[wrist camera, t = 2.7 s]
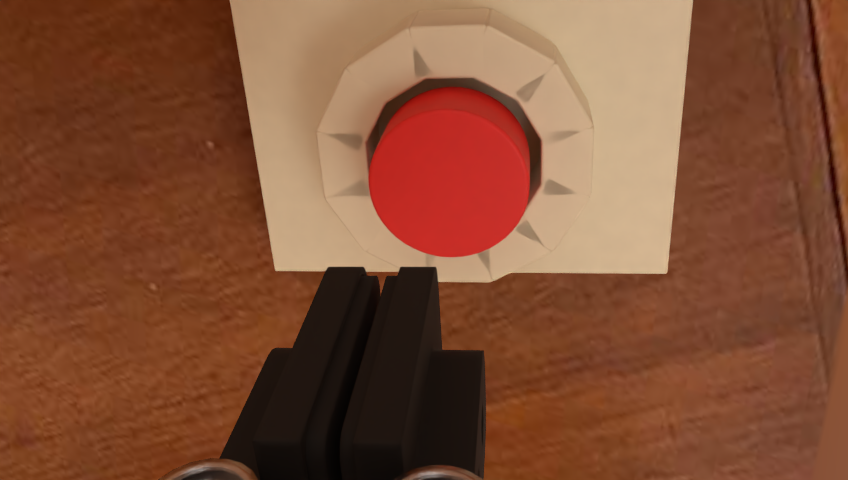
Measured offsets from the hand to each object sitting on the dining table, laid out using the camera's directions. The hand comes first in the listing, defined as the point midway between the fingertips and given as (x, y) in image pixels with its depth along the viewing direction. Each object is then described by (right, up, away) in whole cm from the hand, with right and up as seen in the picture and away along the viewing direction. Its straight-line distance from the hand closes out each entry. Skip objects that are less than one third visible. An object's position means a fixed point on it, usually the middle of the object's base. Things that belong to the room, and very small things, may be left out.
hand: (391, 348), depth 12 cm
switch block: (+2, +5, +10) cm, 11 cm away
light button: (+1, +4, +7) cm, 8 cm away
